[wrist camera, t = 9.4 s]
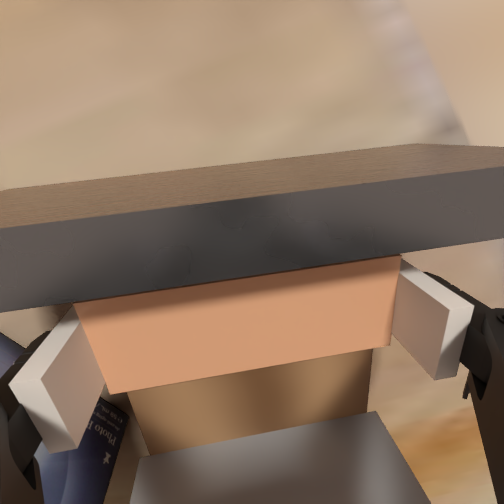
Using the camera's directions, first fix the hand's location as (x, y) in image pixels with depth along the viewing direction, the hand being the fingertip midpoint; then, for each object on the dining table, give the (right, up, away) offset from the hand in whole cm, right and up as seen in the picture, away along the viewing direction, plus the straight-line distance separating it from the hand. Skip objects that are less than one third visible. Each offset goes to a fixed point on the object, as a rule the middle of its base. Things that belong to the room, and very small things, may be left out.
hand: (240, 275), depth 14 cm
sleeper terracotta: (0, 0, 0) cm, 0 cm away
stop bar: (-1, +4, 0) cm, 5 cm away
